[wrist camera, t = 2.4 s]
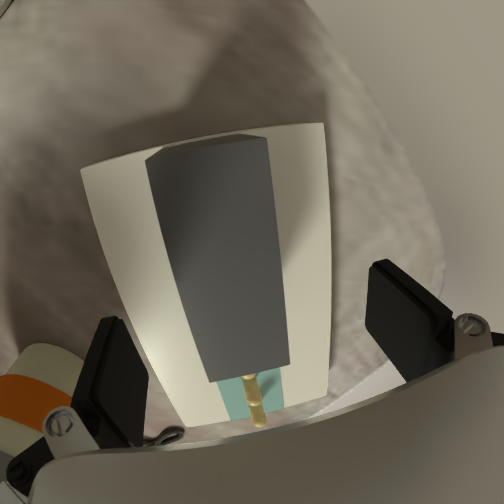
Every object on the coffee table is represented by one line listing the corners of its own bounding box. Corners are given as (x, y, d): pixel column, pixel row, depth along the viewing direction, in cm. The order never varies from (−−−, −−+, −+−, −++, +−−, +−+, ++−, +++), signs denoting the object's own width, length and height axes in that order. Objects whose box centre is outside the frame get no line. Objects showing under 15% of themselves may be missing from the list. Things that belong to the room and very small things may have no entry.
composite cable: (176, 422, 27) (177, 440, 25) (198, 439, 29) (200, 456, 27) (110, 437, 27) (108, 453, 25) (134, 453, 29) (133, 469, 27)
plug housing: (162, 148, 14) (144, 160, 9) (239, 133, 15) (266, 137, 10) (202, 314, 19) (209, 382, 14) (263, 301, 20) (290, 364, 14)
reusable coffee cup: (-12, 348, 19) (-64, 462, 6) (57, 306, 19) (-13, 475, 5) (66, 422, 25) (49, 532, 11) (145, 400, 25) (146, 544, 11)
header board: (90, 164, 16) (58, 179, 11) (310, 122, 17) (348, 123, 13) (185, 411, 26) (188, 452, 22) (319, 381, 28) (337, 417, 23)
